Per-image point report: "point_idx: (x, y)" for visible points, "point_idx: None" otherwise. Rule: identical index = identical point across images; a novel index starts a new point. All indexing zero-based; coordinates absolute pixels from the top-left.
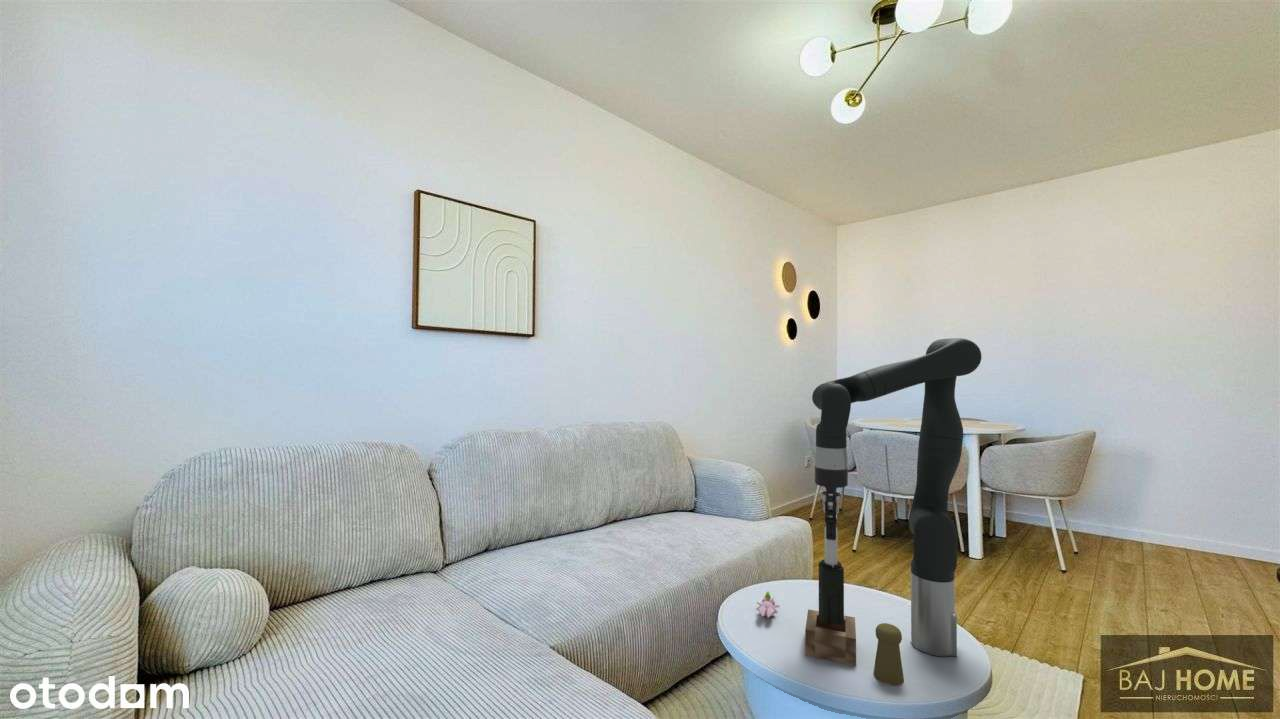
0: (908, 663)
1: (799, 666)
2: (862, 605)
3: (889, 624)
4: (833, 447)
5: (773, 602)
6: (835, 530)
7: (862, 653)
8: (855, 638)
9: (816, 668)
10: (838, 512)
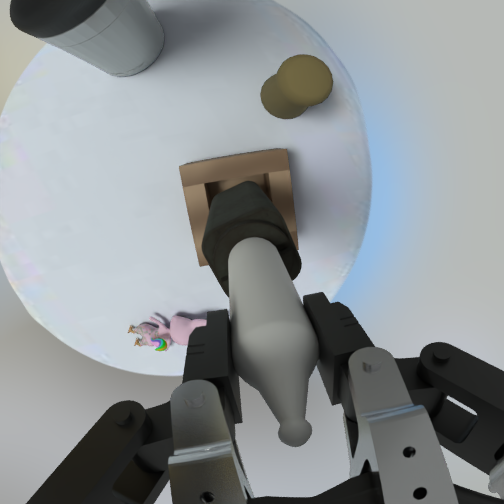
0: (216, 68)
1: (326, 233)
2: (36, 187)
3: (297, 74)
4: None
5: (148, 328)
6: (341, 324)
7: (224, 143)
8: (286, 150)
9: (319, 208)
10: (425, 414)
